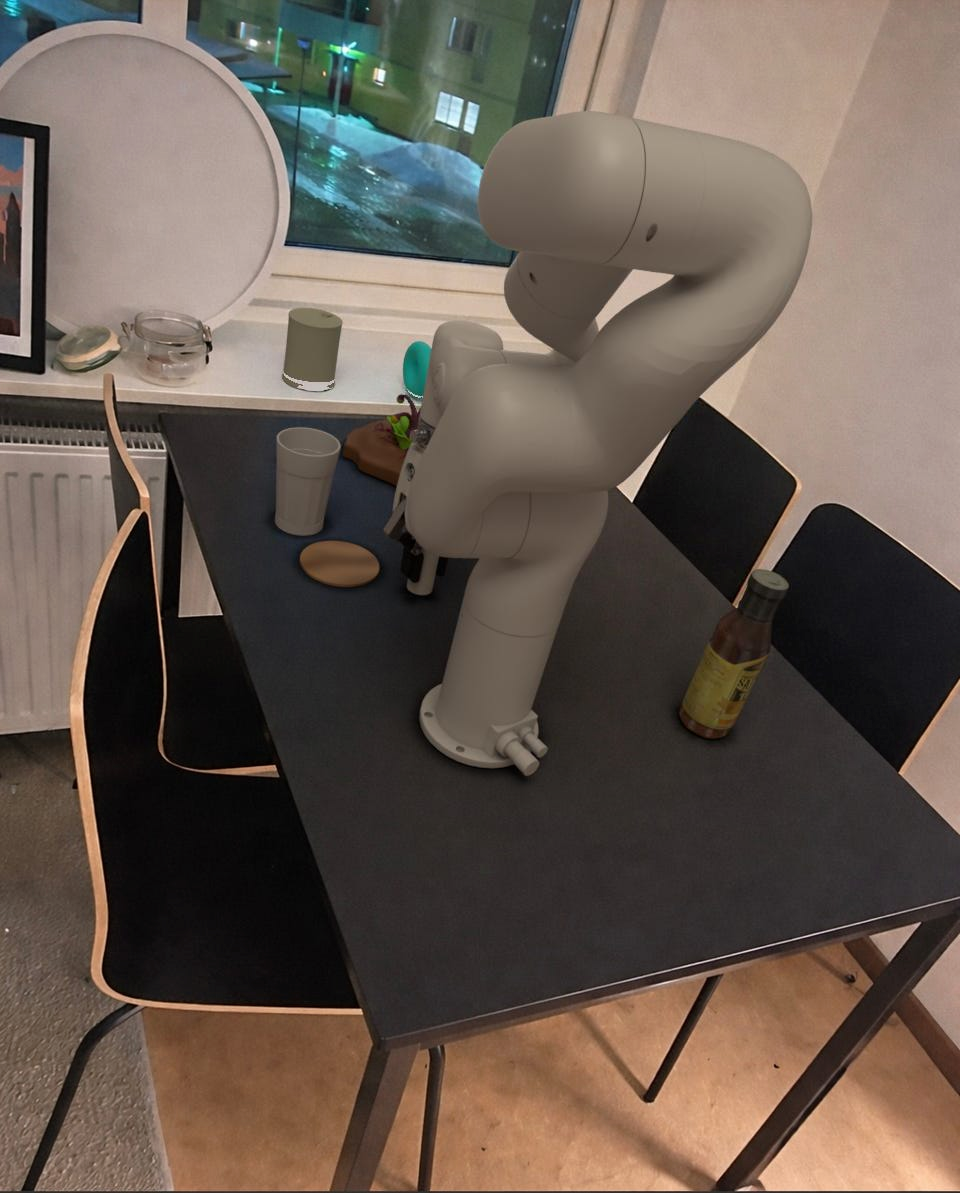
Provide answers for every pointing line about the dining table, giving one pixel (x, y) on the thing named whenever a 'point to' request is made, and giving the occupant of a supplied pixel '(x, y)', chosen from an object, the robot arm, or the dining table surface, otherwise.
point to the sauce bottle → (733, 658)
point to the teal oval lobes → (416, 367)
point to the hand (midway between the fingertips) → (422, 572)
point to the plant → (383, 444)
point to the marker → (425, 575)
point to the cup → (304, 478)
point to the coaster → (339, 563)
